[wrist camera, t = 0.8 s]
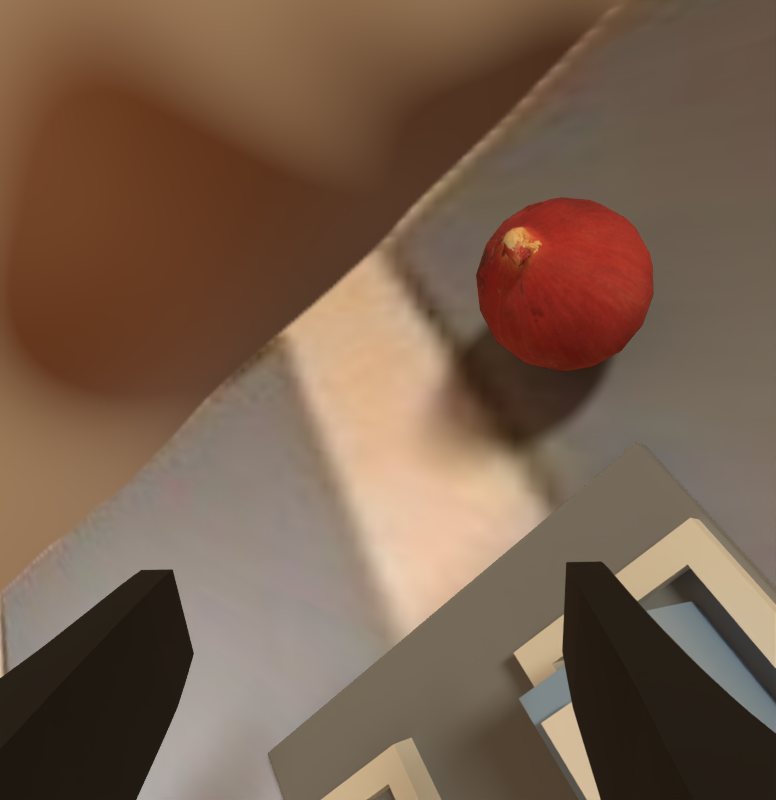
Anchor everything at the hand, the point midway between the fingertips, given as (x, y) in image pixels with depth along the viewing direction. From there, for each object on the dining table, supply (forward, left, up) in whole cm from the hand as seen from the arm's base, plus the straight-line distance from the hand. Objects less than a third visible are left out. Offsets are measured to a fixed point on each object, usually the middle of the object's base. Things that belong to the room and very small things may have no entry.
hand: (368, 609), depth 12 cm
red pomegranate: (+8, -6, -14) cm, 17 cm away
